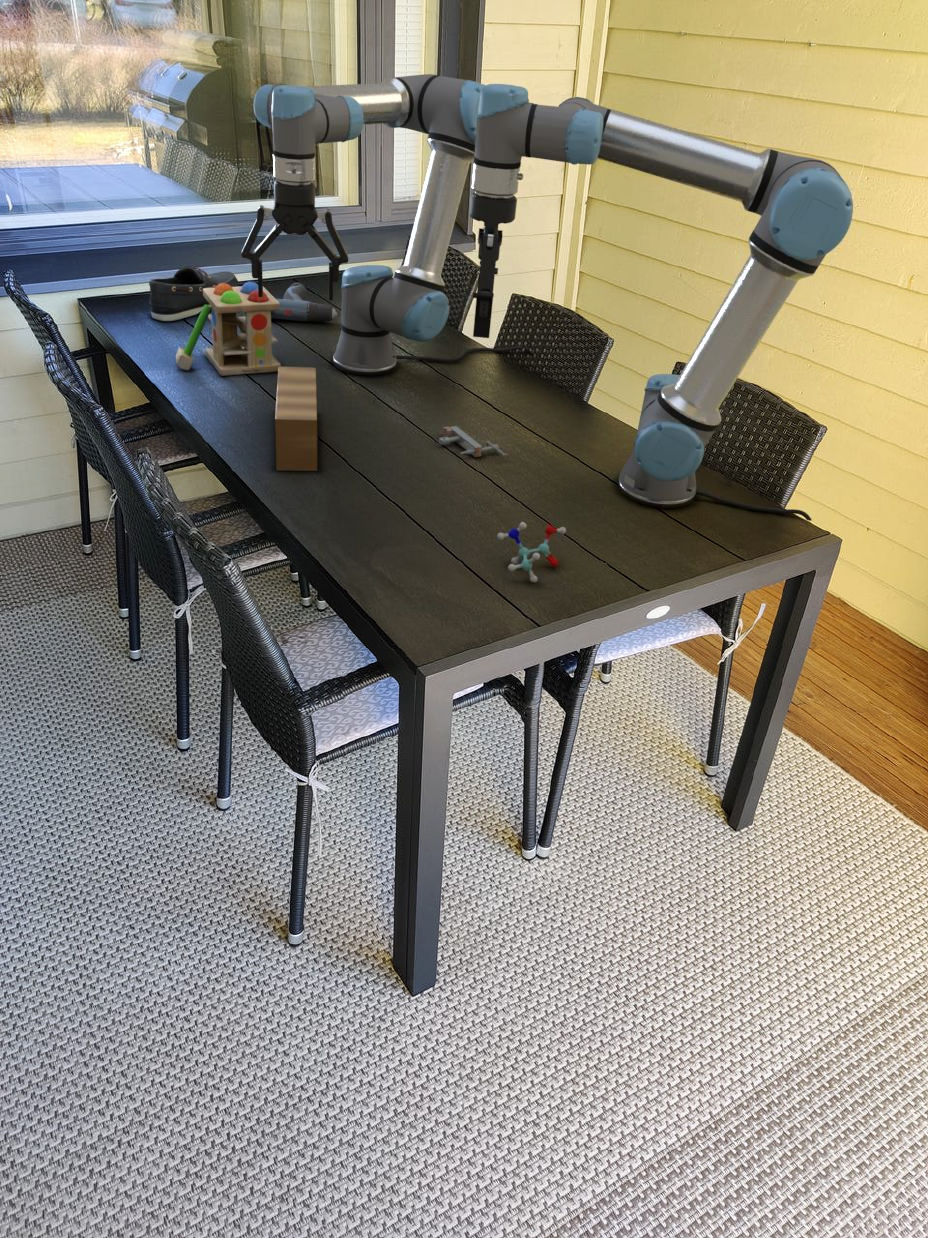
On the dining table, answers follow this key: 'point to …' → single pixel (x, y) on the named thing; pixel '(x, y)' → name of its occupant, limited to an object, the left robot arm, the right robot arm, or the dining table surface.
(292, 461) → the box
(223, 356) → the pounding bench toy
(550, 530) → the molecular model
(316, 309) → the power drill
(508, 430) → the dining table surface
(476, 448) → the clamp
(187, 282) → the boat shoe
